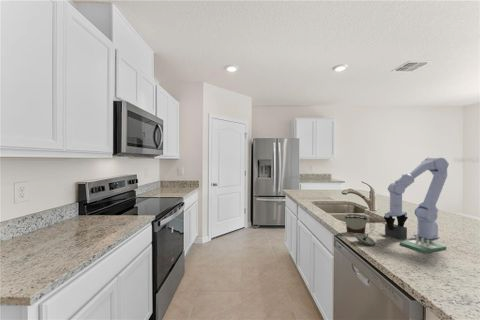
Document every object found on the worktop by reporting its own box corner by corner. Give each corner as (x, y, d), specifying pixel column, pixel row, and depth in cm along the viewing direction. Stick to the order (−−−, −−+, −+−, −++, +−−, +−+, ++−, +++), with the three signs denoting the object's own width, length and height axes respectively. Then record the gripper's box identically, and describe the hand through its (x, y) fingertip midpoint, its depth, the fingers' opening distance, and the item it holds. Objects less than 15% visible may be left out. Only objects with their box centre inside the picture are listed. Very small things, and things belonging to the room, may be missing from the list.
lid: (357, 238, 133) (357, 229, 133) (377, 242, 127) (377, 232, 127) (351, 243, 125) (351, 233, 125) (373, 248, 118) (373, 237, 118)
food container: (365, 231, 146) (365, 214, 146) (367, 234, 140) (367, 216, 140) (342, 229, 149) (342, 213, 149) (344, 232, 143) (344, 215, 143)
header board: (420, 241, 129) (420, 233, 129) (446, 249, 117) (446, 240, 117) (399, 244, 124) (399, 236, 123) (424, 253, 112) (424, 243, 112)
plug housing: (386, 232, 144) (386, 222, 144) (406, 238, 132) (406, 227, 132) (381, 232, 142) (381, 222, 142) (401, 239, 131) (401, 228, 131)
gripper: (398, 202, 142) (398, 226, 143) (379, 204, 137) (379, 228, 138) (410, 205, 136) (410, 229, 136) (391, 206, 131) (391, 232, 131)
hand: (395, 229), depth 136 cm, fingers open, 7 cm apart
